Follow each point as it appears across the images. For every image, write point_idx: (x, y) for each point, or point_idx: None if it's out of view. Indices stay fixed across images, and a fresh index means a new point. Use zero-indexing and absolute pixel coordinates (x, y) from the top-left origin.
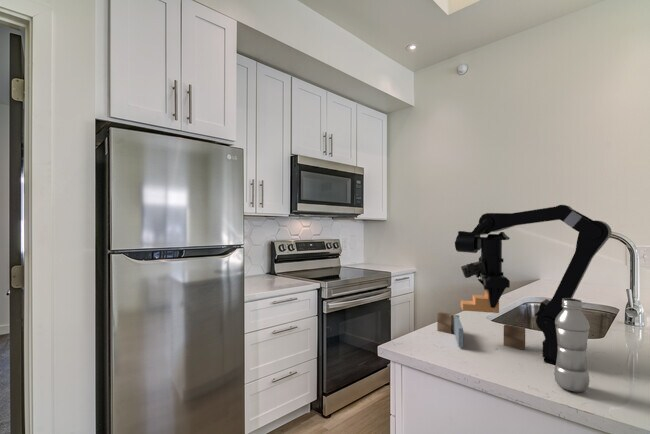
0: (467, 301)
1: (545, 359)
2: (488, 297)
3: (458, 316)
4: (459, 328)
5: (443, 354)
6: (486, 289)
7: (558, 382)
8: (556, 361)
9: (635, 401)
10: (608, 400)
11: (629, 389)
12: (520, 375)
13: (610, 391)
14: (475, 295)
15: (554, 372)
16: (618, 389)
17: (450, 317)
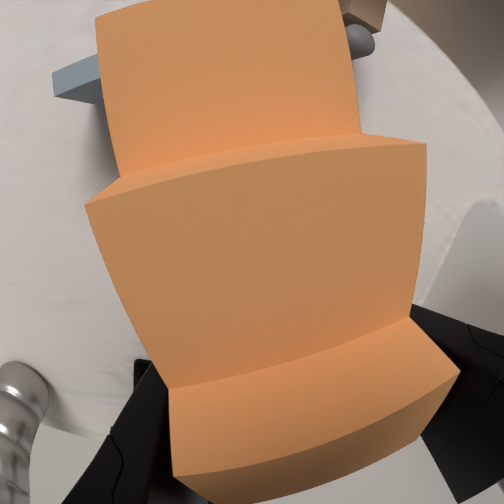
0: (303, 58)
1: (142, 365)
2: (170, 411)
3: (351, 49)
4: (52, 77)
5: (20, 63)
6: (462, 380)
7: (2, 365)
8: (2, 395)
9: (64, 427)
10: None
11: (104, 434)
12: (6, 300)
13: (71, 416)
14: (380, 188)
15: (4, 374)
16: (90, 425)
17: (342, 12)
